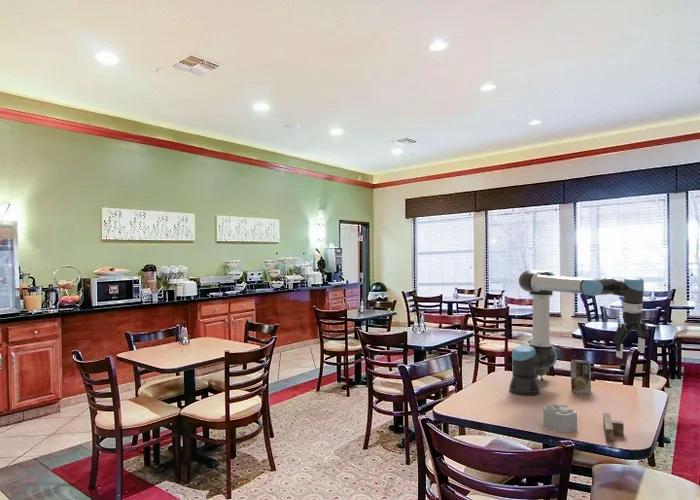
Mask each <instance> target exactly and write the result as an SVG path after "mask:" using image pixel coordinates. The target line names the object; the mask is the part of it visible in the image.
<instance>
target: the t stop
mask: <svg viewBox="0 0 700 500" xmlns="http://www.w3.org/2000/svg"><path fill="white" fill-rule="evenodd" d="M611 417H612V416H611V413H608V412H603V413H602V420H603V421H602V422H603V424H602V425H603V432H604V436H605V437H606V438H605V437H604V438H605V442H606V441H608V442H607V443H611V442H614V443H615V441H614V440H615V439H614V436H616V437H622V436H623V438H624V436H625V435H624V433H625V432H624V422H623V420H622V421H621V420H614V419H612V418H611Z"/></svg>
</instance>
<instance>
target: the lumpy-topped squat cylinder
mask: <svg viewBox="0 0 700 500" xmlns="http://www.w3.org/2000/svg"><path fill="white" fill-rule="evenodd" d="M542 412H543V413H542V415H543V418H542V419H543V420H542V423H543V426H544V427H545V428H547V427H548V429H550V430H552V429H553V431H555V430H556V431H555V432H558V431H559V433H562V432H563V433H564V434H569V433H571V431H572V432H576V431H578V412H577V411H576V410H575V409H572V408H570V407H569V406H568V405H566V404H561V405H558V404H557V403H551V404H545V405H543V407H542ZM563 433H562V434H563Z"/></svg>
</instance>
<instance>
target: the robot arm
mask: <svg viewBox="0 0 700 500" xmlns="http://www.w3.org/2000/svg"><path fill="white" fill-rule="evenodd" d="M518 285H519V287H520V288H521V289H522V290H523V291H525V292H529V295H530V296H531V297H532V340H531V341H530V342H529V345H522V346H516V347H514V348H512V351H511V353H512V354H511V365H512V366H511V367H512V377H511V380H510V383H509V389H508V390H509V392H510V393H512V394H514V395H519V396H526V397H527V396H528V397H531V396H533V397H534V396H538V395H540V394H541V388H540V386H539V382H538V381H537V378H536V370H540V369H547V368H549V369H550V368H551V367H554V365H555V364H556V363H557V359H558V356H557V355H558V354H557V352H556V351H555V349H554V347H553V344H552V343H551V342H550V306H551V305H550V298H551V297H552V296H553V292H561V293H568V294H569V293H571V294H578V295H580V294H581V295H587V296H591V297H595V296H601V295H602V296H605V295H606V296H607V295H614V296H619V297H623V302H622V309H623V310H622V319H623V320H624V321H623V322H618V326H617V329H616V331H615V333H614V336H613V338H612V343H613V344H615V357H617V358H618V359H623V355H624V354H623V349H624V344H623V342H624V341H625V340H626V338H627V336H628V335H629V334H630V333H631V332H633V331H634V332H636V334H637V335H638V336H639V337H638V341H637V352H640V353H642V354H644V353H645V345H646V340H649V337H650V334H649V330H648V327H647V325H646V319H645V318H643V306H644V305H643V302H644V290H645V288H644V287H645V286H644V285H645V283H644V280H643V279H642V278H641V277H638V276H626V277H624V280H622V279H618V278H615V277H614V278H612V277H610V276H608V277H607V276H601V277H599V278H590V277H589V278H585V277H583V278H582V277H570V276H558V275H557V276H556V275H555V274H554V273H553V272H552V271H550V270H547V269H535V270H532V269H531V270H525V271H523V272H522V273H521V274H520V275H519V277H518Z"/></svg>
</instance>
